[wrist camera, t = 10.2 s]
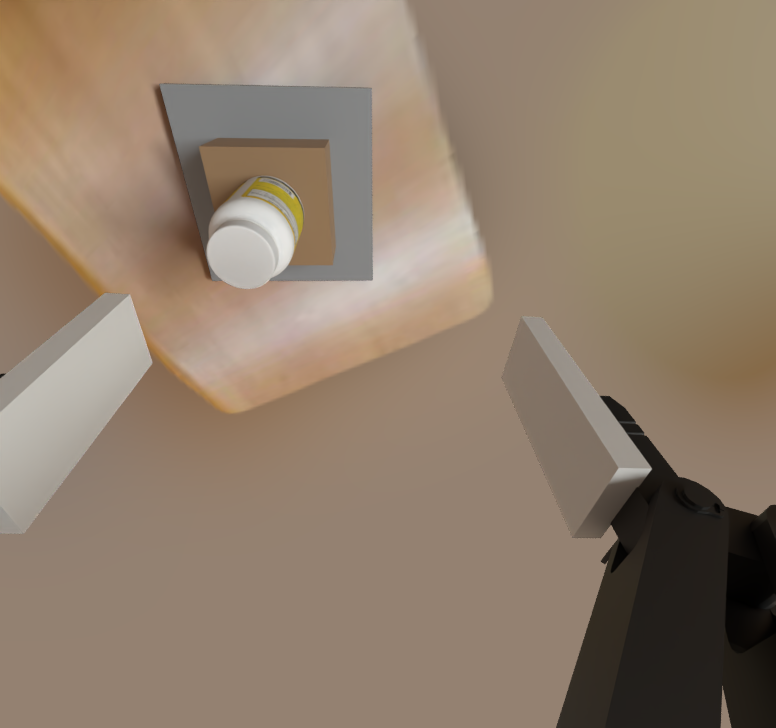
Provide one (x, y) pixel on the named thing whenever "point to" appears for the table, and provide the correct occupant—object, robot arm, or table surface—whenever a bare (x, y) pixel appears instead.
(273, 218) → the supplement bottle
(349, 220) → the base
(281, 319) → the table surface
